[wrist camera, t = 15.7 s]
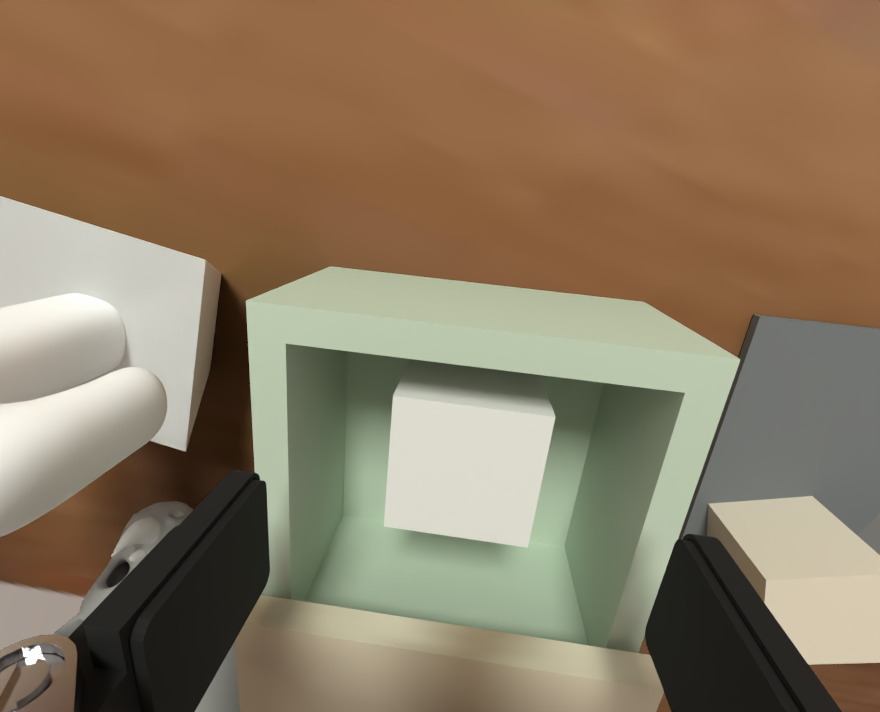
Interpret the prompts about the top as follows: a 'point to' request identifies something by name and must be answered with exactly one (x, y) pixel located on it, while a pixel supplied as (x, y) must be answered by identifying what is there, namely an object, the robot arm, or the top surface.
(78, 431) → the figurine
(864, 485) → the mat
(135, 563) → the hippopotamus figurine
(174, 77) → the top surface
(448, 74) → the top surface
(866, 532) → the light grey cube
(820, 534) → the beige cube
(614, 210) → the top surface
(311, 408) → the bin
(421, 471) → the white stacked cube
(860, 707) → the top surface
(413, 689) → the lid
